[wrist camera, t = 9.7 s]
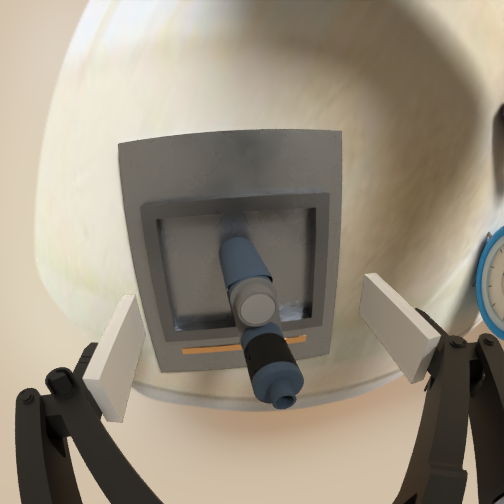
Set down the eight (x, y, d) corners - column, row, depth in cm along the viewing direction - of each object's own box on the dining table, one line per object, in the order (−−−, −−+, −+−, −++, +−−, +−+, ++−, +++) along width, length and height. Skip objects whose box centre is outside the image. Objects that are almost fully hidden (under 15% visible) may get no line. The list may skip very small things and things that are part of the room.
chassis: (121, 143, 18) (112, 143, 16) (337, 131, 20) (348, 130, 18) (162, 366, 25) (160, 380, 23) (325, 349, 27) (332, 361, 25)
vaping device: (228, 301, 23) (259, 424, 11) (214, 237, 21) (237, 340, 10) (260, 293, 23) (313, 409, 12) (250, 230, 21) (309, 322, 10)
